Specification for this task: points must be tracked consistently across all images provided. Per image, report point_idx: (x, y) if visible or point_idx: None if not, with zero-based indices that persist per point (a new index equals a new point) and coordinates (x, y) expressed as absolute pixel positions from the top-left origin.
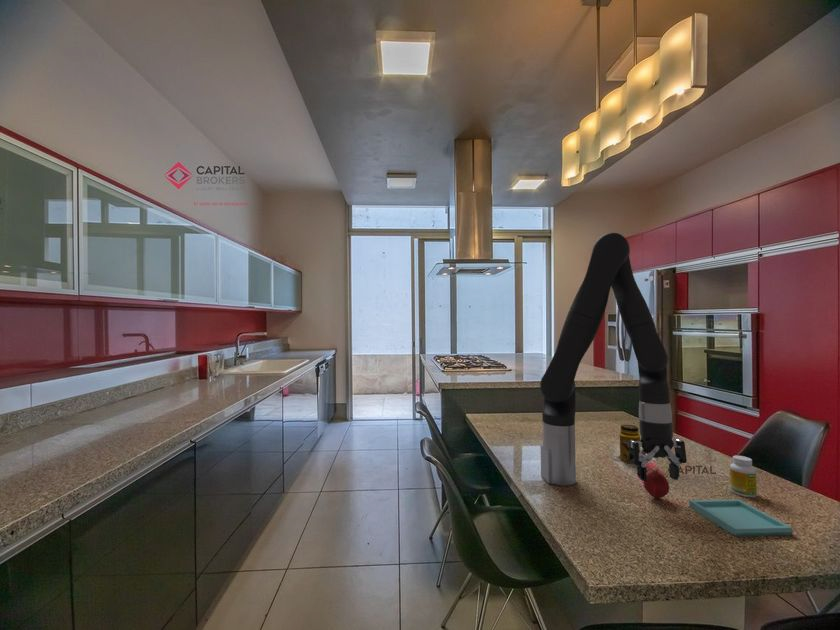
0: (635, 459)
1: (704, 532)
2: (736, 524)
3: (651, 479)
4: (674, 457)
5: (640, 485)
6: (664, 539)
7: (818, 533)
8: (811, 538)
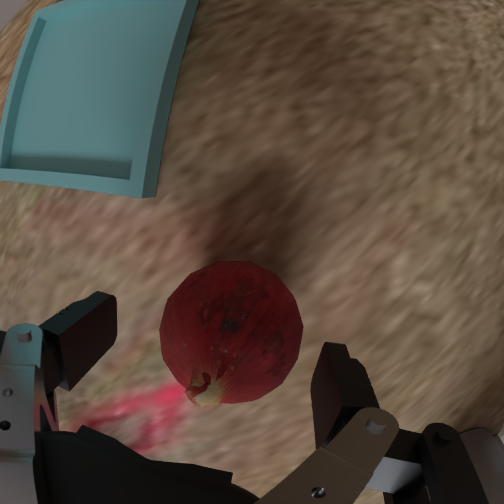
0: (462, 460)
1: (294, 15)
2: (129, 32)
3: (283, 342)
4: (6, 368)
5: (211, 406)
6: (470, 44)
7: (3, 39)
8: (32, 13)
